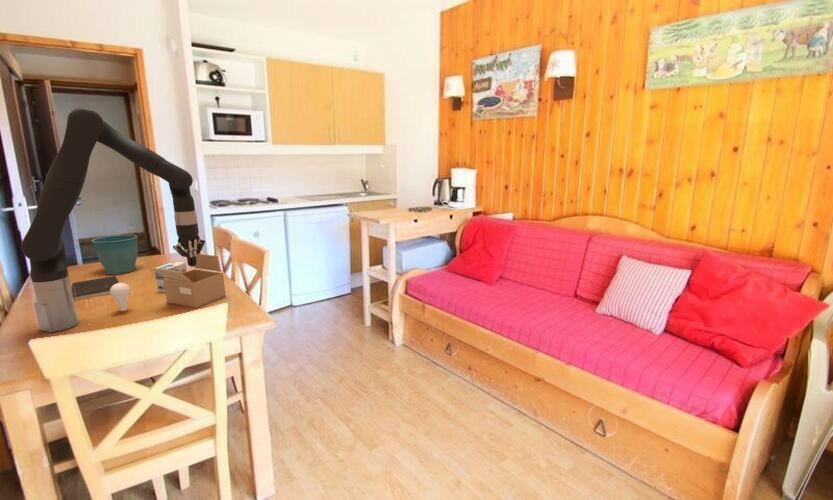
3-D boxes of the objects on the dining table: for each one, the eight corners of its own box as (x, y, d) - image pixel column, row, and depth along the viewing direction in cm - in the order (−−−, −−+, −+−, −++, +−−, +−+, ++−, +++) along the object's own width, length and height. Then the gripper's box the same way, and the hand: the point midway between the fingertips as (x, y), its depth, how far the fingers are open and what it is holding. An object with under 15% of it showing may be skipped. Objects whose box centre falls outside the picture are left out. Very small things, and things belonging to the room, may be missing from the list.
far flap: (217, 256, 162) (218, 256, 163) (191, 253, 168) (192, 252, 168) (220, 271, 165) (221, 271, 165) (194, 267, 170) (195, 267, 170)
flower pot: (104, 268, 208) (98, 236, 204) (146, 264, 215) (140, 233, 211) (93, 278, 192) (86, 243, 188) (138, 274, 199) (132, 240, 195)
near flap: (191, 280, 153) (190, 281, 152) (164, 276, 158) (163, 277, 158) (179, 271, 148) (178, 272, 147) (151, 267, 153) (151, 268, 153)
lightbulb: (130, 306, 157) (125, 279, 154) (136, 310, 153) (131, 282, 150) (111, 311, 152) (106, 283, 149) (116, 315, 148) (111, 287, 146)
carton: (196, 308, 155) (192, 283, 152) (166, 302, 161) (162, 278, 158) (225, 296, 167) (222, 273, 165) (197, 291, 173) (194, 269, 171)
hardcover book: (116, 280, 191) (115, 275, 190) (122, 293, 174) (121, 288, 173) (72, 287, 181) (71, 282, 180) (73, 302, 164) (72, 296, 163)
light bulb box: (170, 293, 171) (167, 268, 169) (157, 292, 173) (153, 268, 170) (189, 285, 182) (186, 262, 179) (176, 284, 183) (172, 261, 180)
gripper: (177, 226, 149) (184, 271, 153) (208, 220, 161) (213, 262, 165) (163, 224, 152) (170, 269, 156) (194, 219, 164) (200, 261, 168)
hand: (192, 265), depth 161 cm, fingers closed
